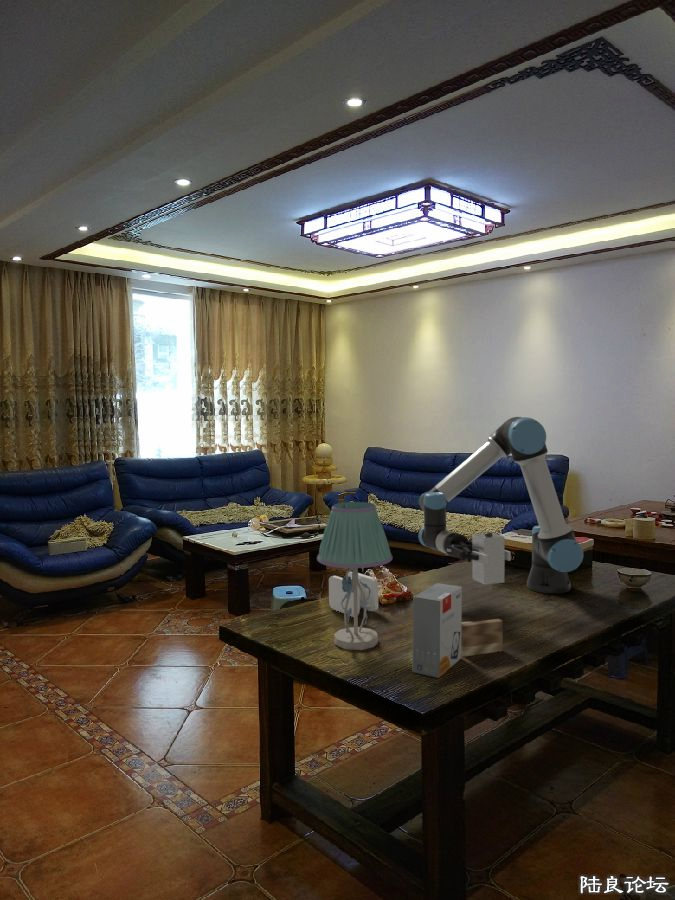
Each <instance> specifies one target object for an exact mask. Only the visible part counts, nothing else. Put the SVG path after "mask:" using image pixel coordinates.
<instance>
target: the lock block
mask: <svg viewBox="0 0 675 900" xmlns="http://www.w3.org/2000/svg"><path fill="white" fill-rule="evenodd" d="M471 537H472V539H471V542H472V551H476V552H479V553H482V554H486V555H488V564H483V563H480V562H477V561H474V560H472V559H471V563H472V572H471V573H472V580H474V581H476V582H478V583H480V584H482V585H493V584H501V583H502V584H503V583H505V559H504V550H505V536H503V535H500V534H497V533H495V532H491V531H490V532H489V531H485V532H482V533H473V534H472V536H471Z"/></svg>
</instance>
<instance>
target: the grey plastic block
mask: <svg viewBox="0 0 675 900" xmlns="http://www.w3.org/2000/svg"><path fill="white" fill-rule="evenodd" d="M348 576H350V577H351V580H352V571H349V573H348ZM358 579H359V583H360V581H361V582H362V583H363V584H367V586H368V587H369V588H370V591H371V592H370V596H369V589H368V588H365V587H364V586H363V585H362V584H361V583H360V585H361V587H362V589H363V592H364V594H365V598H366V599H367V597H368V596H369V599H368V600H367V601H366V604H367V609H366V612H367V610H368V612H370V611H371V612H370V613H372V612H373V611H377V610H378V609H379V583H378V580H377V578H375V577H374V576H373V577H372V576H370V575H366V574H364V573H360V572H358ZM342 580H343V577H341V576H338V575H332V576H330V577H329V578H328V602H329V603H328V605H329V606H330V608H331V609H332V610H334V611H335V610H336V611H335V612H337V611H339V612H338V613H340V612H341V613H342V614H344V609H343V608H345V605H346V601H347V598H348V597H347V598H346V599H345V600H344V601H343V603H342V605H343V607H342V605H341V602H342V600H343V599H344V597H345V595H346V594H347V592H343V590H342V585H343V584H342ZM361 601H363V602H364V598H363V596H362V593H361V591H360V589H359V587H358V585H357V602H358V616H359V615H360V610H361V608H362V609H364V608H363V606H362V605H361ZM350 608H351V609H352V613H351V615H349V617H350V616H351V617H350V618H352V617H353V618H354V593H352V592H351V596H350V599H349V602H348V606H347V611H348V610H349V609H350ZM346 614H347V613H346Z"/></svg>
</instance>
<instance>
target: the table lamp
mask: <svg viewBox="0 0 675 900" xmlns="http://www.w3.org/2000/svg"><path fill="white" fill-rule="evenodd" d="M316 561H317V562H318V563H319V564H322V565H324V566H328V567H333V568H340V569H342V568H343V569H347V570H346V574H345V576H344V577H342V578H343V580H342V584H343V585H342V590H343V592H347V594H346V595H345V597H344V599H343V600H342V602H341V605H342V603H343V601H344V600H345V599H346V598H347V597H348V598H347V601H346V605H345V608H343V609H344V613H343V615H344V616H343V617H344V618H343V623H344V626H345V628H341V629H339V630H338V631H336V632H335V633H334V634H333V643H334V645H335V646H337V647H339V648H341V649H344V650H352V651H353V650H354V651H356V650H357V651H364V650H367V649H368V650H369V649H371V648H375V646H376V645H378V643H379V638H378V637H379V636H378V632H377V631H375V630H374V629H372V628H368V627H363V626H365V625H366V624H367V621H368V620H367V619H368V614H367V611H366V609H367V604H366V601H367V600H368V599H369V596H370V592H371V591H370V588H369V587H368V586H367V584H363V583H362V582H361V581H360V583H361V584H362V585H363V586H364V587H365V588H368V589H369V596H368V597H367V599H366V598H365V594H364V592H363V589H362V587H361V585H360V583H359V579H358V573H359V570H358V569H362V570H361V571H362V573H364V568H374V567H380V566H384V565H386V564H389V563H390V562H391V561H393V554H392V553H391V549H390V545H389V543H388V539H387V536H386V533H385V530H384V528H383V525H382V523H381V520H380V518H379V514H378V511H377V506H376V504H374V503H371V502H365V501H348V502H347V501H346V502H338V503H334V504H333V505H332V506H331V511H330V514H329V517H328V521H327V524H326V526H325V527H324V531H323V535H322V539H321V542H320V545H319V550H318V554H317V556H316ZM349 572H352V580H351V577H350V576H348V573H349ZM357 585H358V587H359V589H360V591H361V593H362V596H363V598H364V602H363V601H361V605H362V606H363V608H362V609H363V618H362V620H361V623H360V626H359V625H358V623H359V622H358V620H359V617H358V616H359V615H358V602H357ZM351 592H352V593H354V617H353V627H349V622H350V616H349V615H351V613H352V609H351V608H350V609H349V610H348V611H347V606H348V602H349V599H350V596H351ZM342 607H343V605H342ZM346 613H347V615H346Z"/></svg>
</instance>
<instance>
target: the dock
mask: <svg viewBox="0 0 675 900" xmlns="http://www.w3.org/2000/svg"><path fill="white" fill-rule="evenodd" d="M503 622H504V621H503V620H502V619H500V618H494V619H486V620H477V621H472V620H471V621H464V622H463V621H461V657H463V658H464V657H469V656H470V657H471V656H476V655H477V656H478V655H483V654H492V653H497V652H498V651H499V652H503V649H504V648H503V646H504V644H503V639H504V638H503V629H504V628H503V625H504V624H503Z"/></svg>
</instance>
